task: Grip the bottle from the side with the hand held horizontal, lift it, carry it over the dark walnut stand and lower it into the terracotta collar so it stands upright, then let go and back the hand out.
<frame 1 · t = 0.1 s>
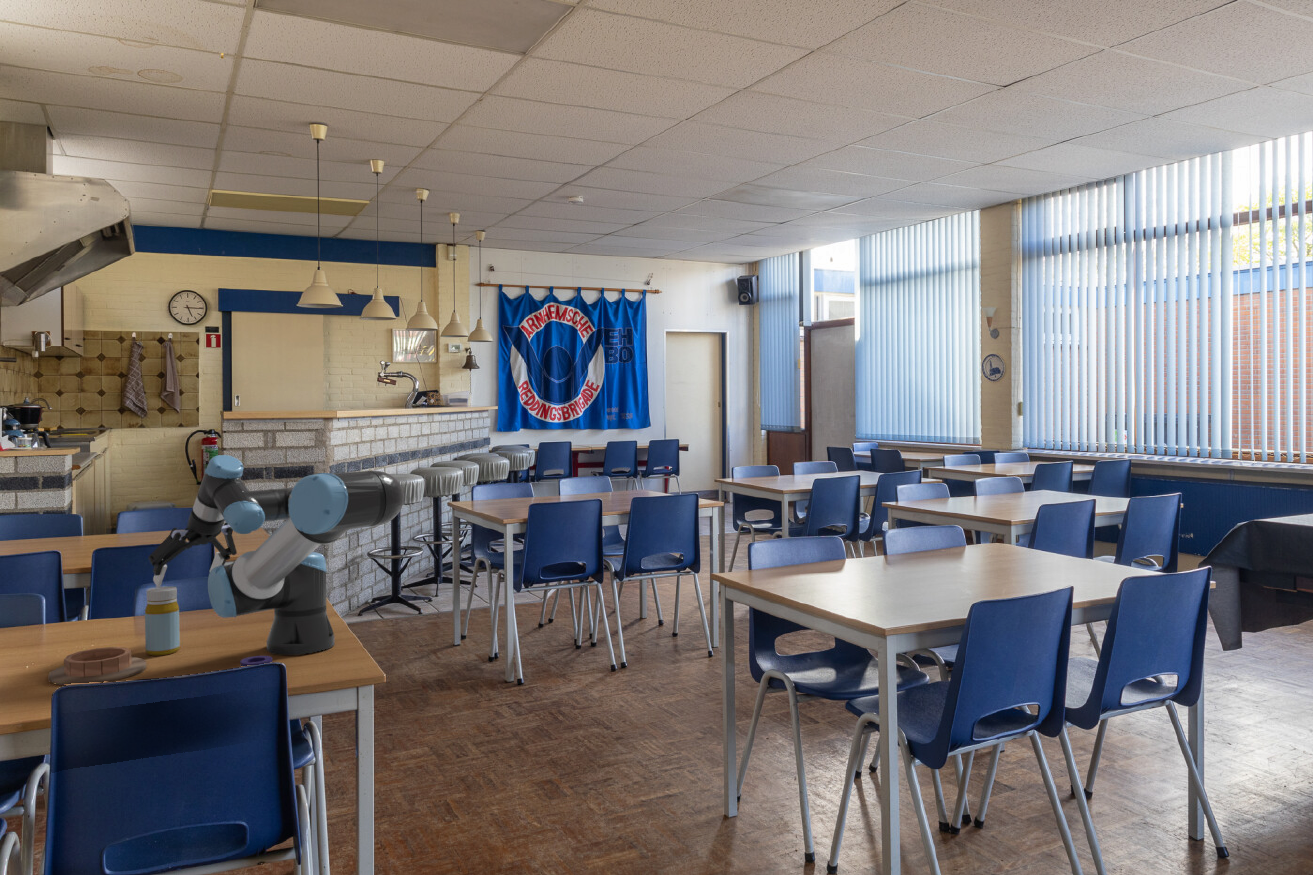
hand: (185, 579, 220), 15 cm above the table, tool tilted 35°, fingers open, 13 cm apart
bottle holder: (98, 672, 193), on the table
bottle: (162, 653, 209), on the table
lever: (246, 678, 190), on the table
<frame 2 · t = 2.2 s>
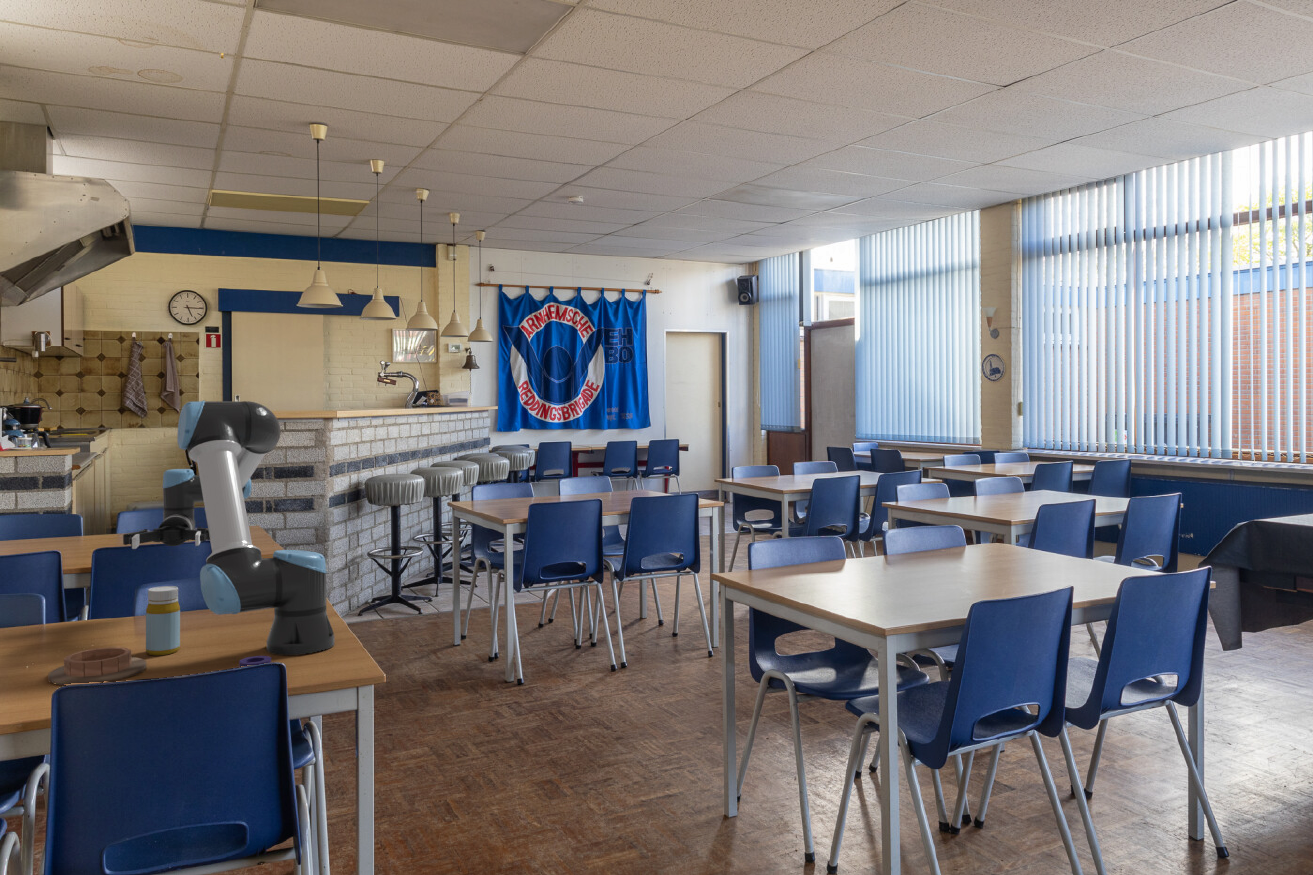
hand: (165, 541, 217), 25 cm above the table, tool horizontal, fingers open, 13 cm apart
nothing on the table moved.
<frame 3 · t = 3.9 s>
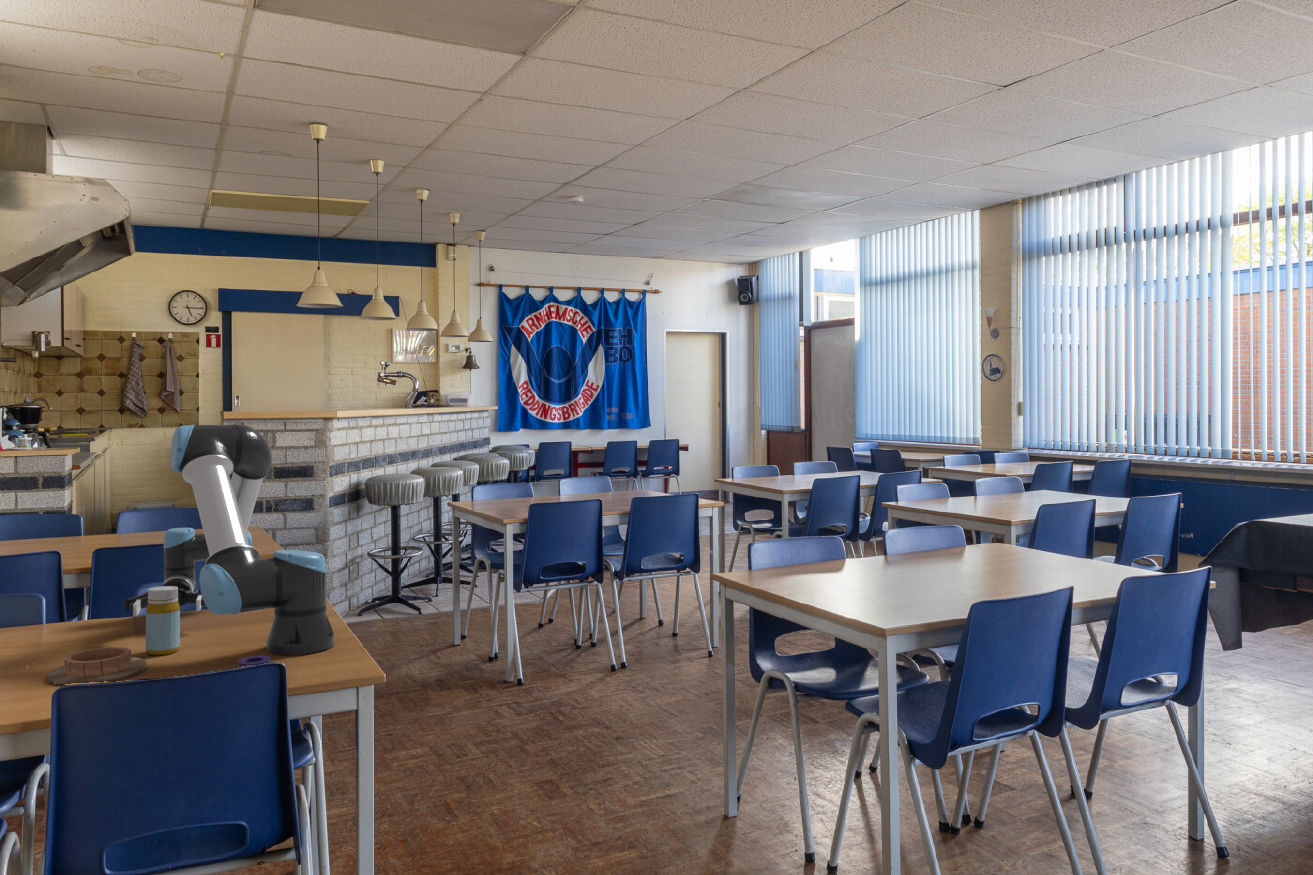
hand: (166, 608, 218), 8 cm above the table, tool horizontal, fingers open, 13 cm apart
nothing on the table moved.
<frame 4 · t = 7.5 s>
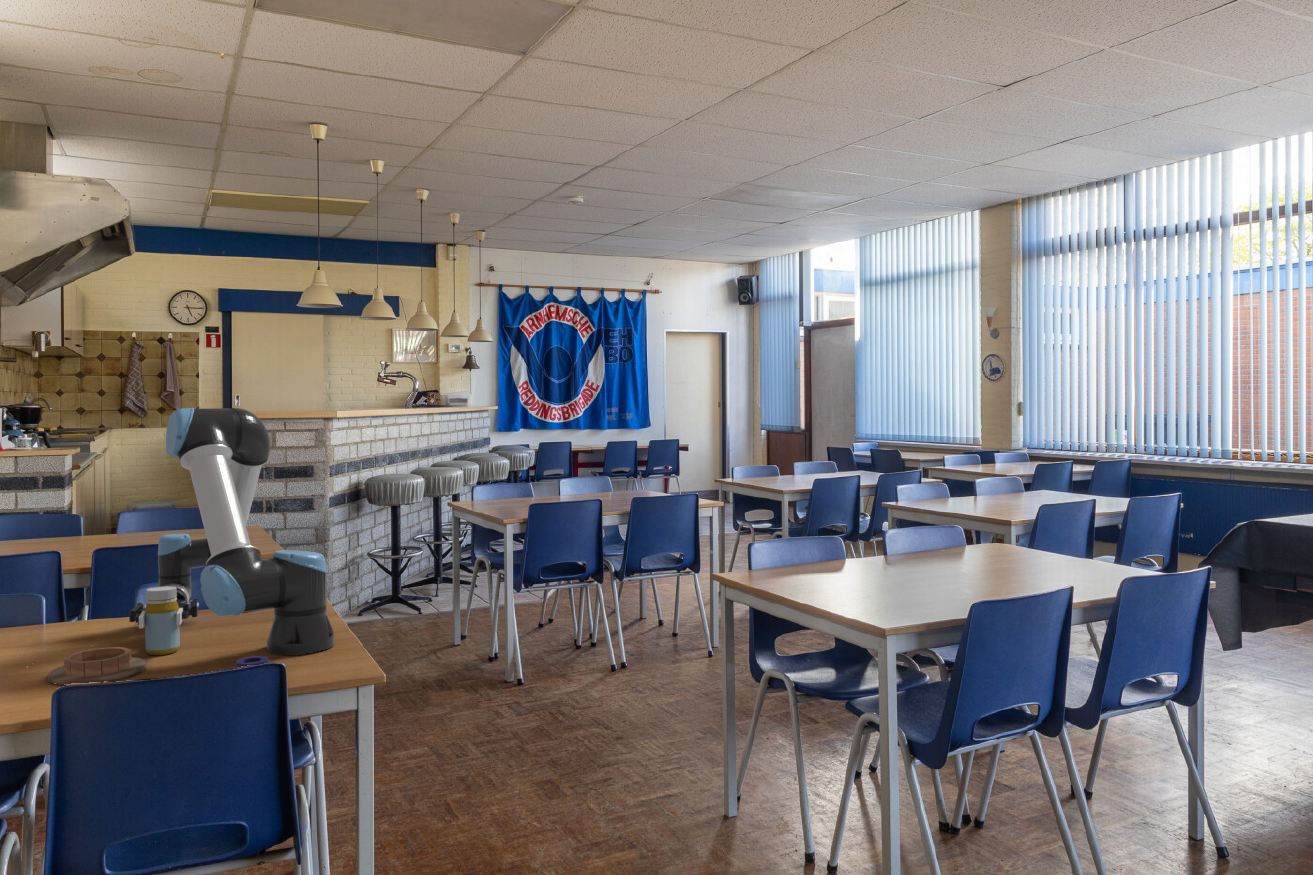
hand: (159, 620, 204), 9 cm above the table, tool horizontal, fingers closed on bottle, 7 cm apart
bottle: (162, 652, 209), on the table, touching gripper
everything else where it was.
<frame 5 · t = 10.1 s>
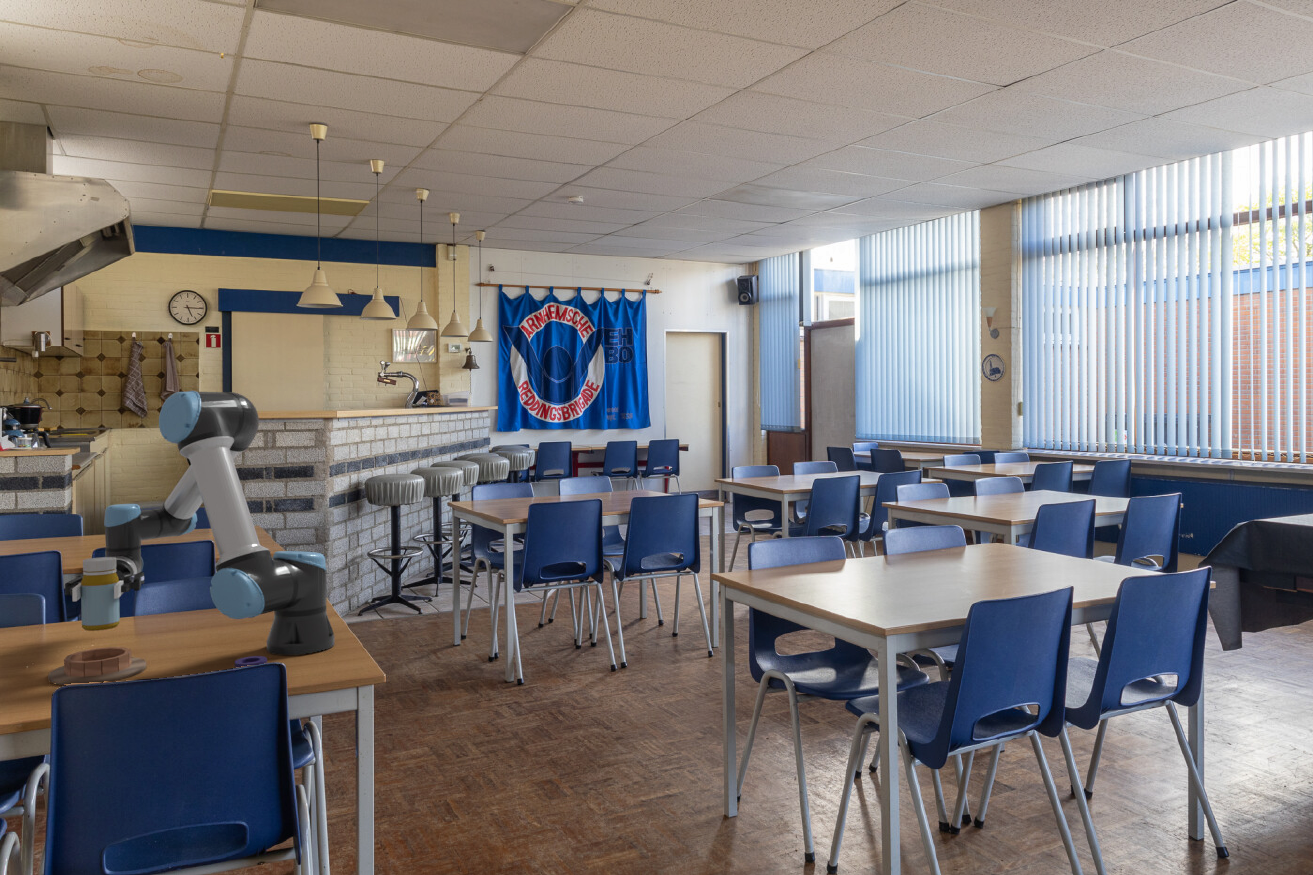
hand: (95, 593, 189), 18 cm above the table, tool horizontal, fingers closed on bottle, 7 cm apart
bottle: (101, 628, 194), point 9 cm above the table, touching gripper
everything else where it was.
when the fingers open (11 cm above the table, at t = 12.7 s): bottle drops 1 cm, resting on bottle holder.
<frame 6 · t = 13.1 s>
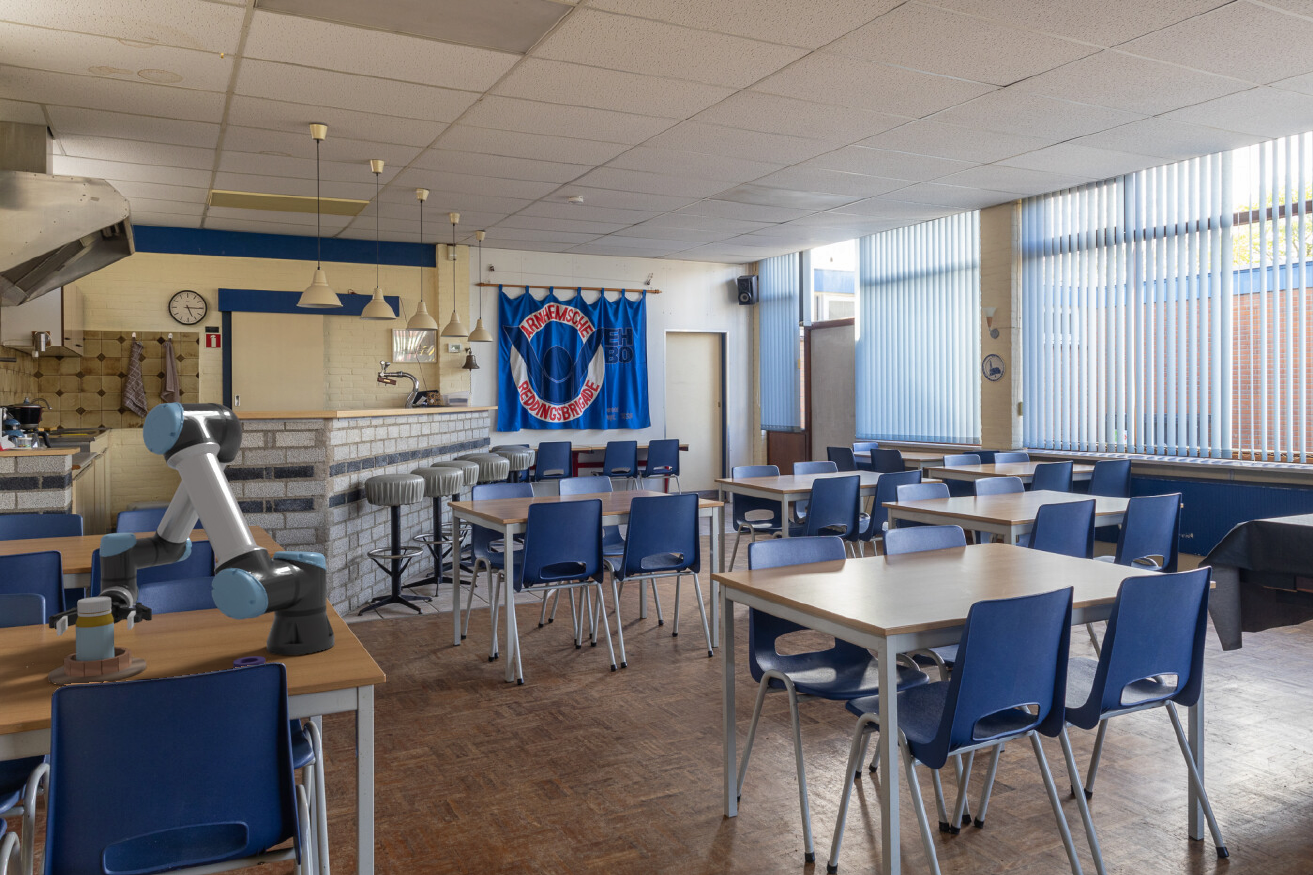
hand: (94, 626, 189), 11 cm above the table, tool horizontal, fingers open, 12 cm apart
bottle: (95, 669, 193), point 1 cm above the table, touching bottle holder
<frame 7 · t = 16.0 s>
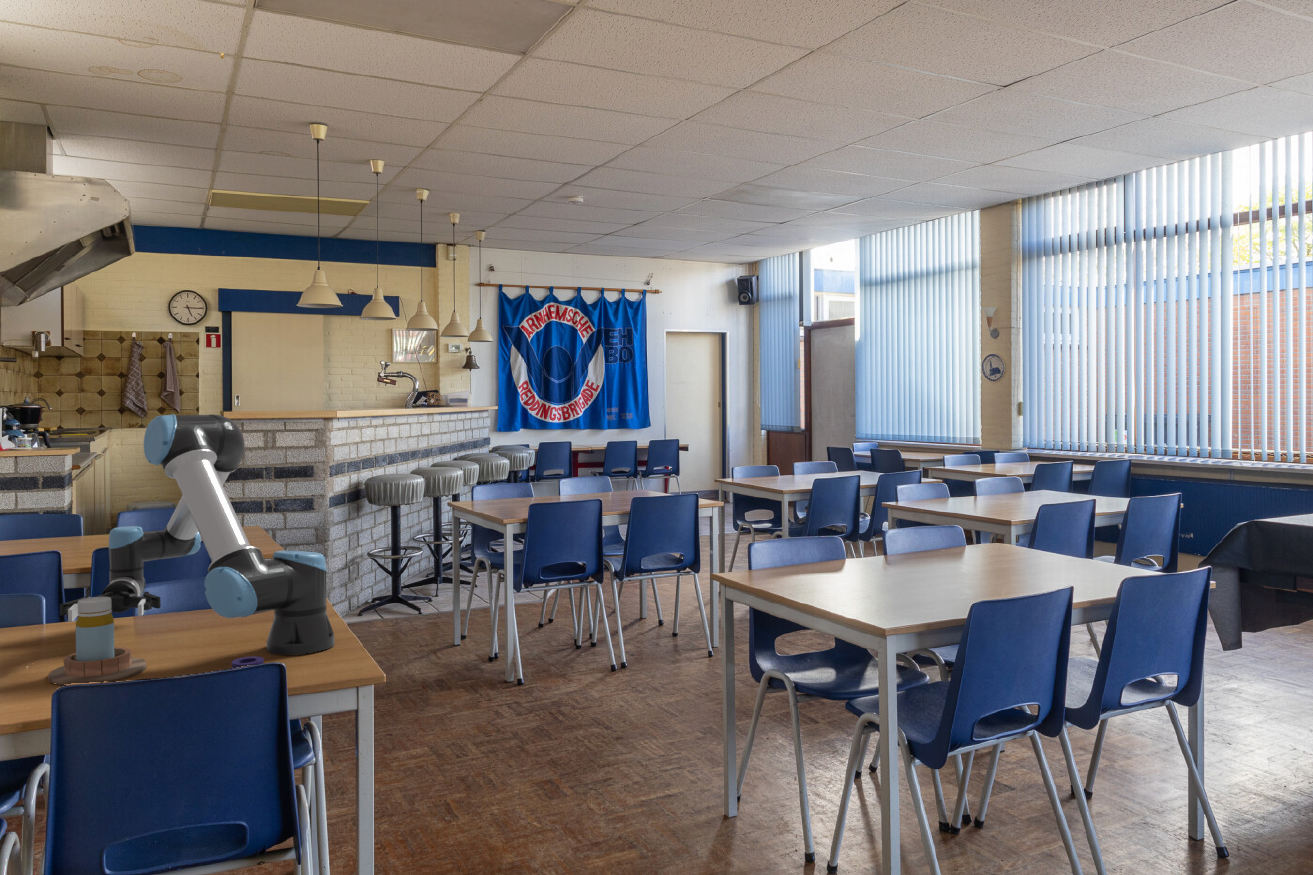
hand: (105, 613, 201), 11 cm above the table, tool horizontal, fingers open, 13 cm apart
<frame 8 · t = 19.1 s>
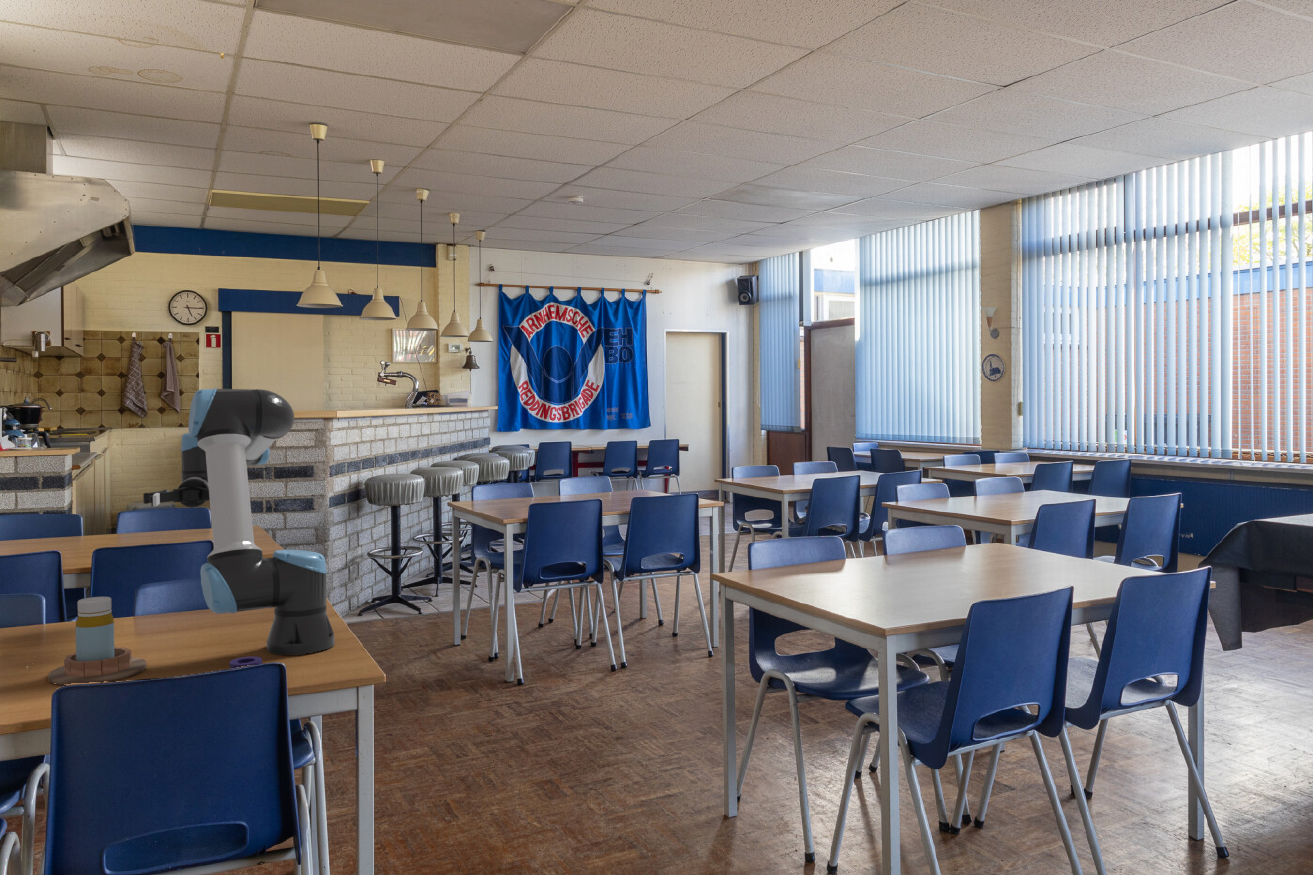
hand: (186, 499, 218), 35 cm above the table, tool horizontal, fingers open, 13 cm apart
at the end: bottle 0.5 cm off-centre on the bottle holder, point 0.8 cm above the bottle holder's base; bottle tilted 0°; the gripper is holding nothing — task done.
